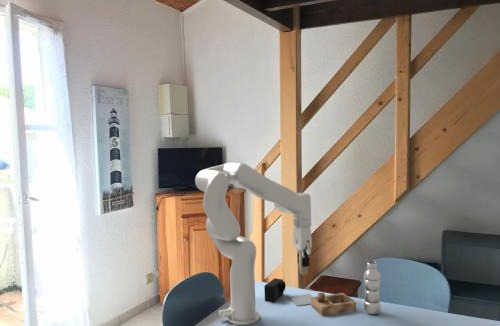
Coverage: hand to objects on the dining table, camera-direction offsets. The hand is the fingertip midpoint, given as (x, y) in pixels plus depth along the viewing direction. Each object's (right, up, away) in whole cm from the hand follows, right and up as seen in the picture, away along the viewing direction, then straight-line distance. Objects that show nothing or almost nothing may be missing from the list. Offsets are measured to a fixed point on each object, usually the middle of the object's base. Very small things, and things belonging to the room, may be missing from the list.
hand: (303, 264), depth 171 cm
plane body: (+11, -16, -8) cm, 21 cm away
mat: (0, -16, +1) cm, 16 cm away
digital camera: (-12, -16, +4) cm, 20 cm away
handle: (0, -4, 0) cm, 4 cm away
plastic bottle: (+25, -16, -14) cm, 33 cm away
